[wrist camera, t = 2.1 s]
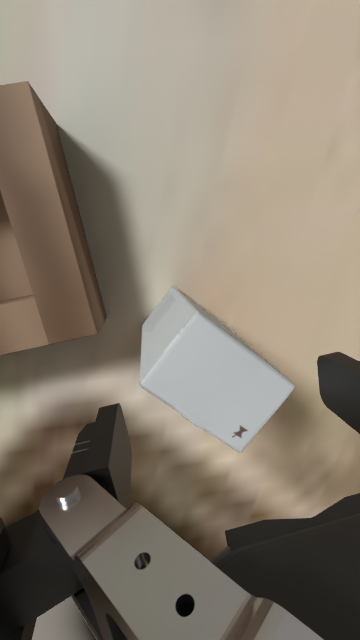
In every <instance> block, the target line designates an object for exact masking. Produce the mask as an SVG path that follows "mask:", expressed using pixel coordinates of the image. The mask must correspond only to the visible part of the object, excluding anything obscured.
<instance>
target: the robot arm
mask: <svg viewBox="0 0 360 640" xmlns="http://www.w3.org/2000/svg"><path fill="white" fill-rule="evenodd" d="M317 365H318V377H319V388H320V395H321V398H322V400H323V402H324V404H325V405H326V407H327V408H329V409H330V410H331V411H332V412H334V413H335V414H336V415H337V416H338V417H340V418H341V419H342V420H343V421H345V422H346V423H347V424H348V425H349V426H351V427H352V428H353V429H354V430H356V431H357V432H358V433H359V434H360V361H357V360H355V359H353V358H351V357H349V356H347V355H345V354H343V353H341V352H335V353H330V354H326V355H322V356H319V357H318V360H317ZM72 452H73V453H72V454H71V457H70V460H69V463H68V466H67V469H66V472H65V474H64V477H63V480H61V481H59V482H58V483H56V484H55V485H54V486H52V487H51V488H50V489H49V490H48V491H47V492H46V493H45V495H44V496H43V498H42V499H41V502H40V504H39V510H38V511H36V512H35V513H33V514H31V515H29V516H27V517H25V518H23V519H21V520H19V521H17V522H15V523H13V524H11V525H9V526H7V527H5V525H4V522H3V520H2V518H0V640H32V636H33V631H34V627H35V623H36V619H37V617H38V616H40V615H42V614H43V613H45V612H46V611H48V610H49V609H51V608H53V607H54V606H55V605H57V604H59V603H60V602H62V601H64V600H65V599H67V598H68V597H70V596H71V597H72V599H73V601H74V602H75V604H76V606H77V607H78V609H79V611H80V612H81V614H82V616H83V617H84V619H85V621H86V622H87V624H88V626H89V627H90V629H91V631H92V632H93V634H94V636H95V637H96V639H97V640H360V493H359V494H355V495H351V496H348V497H345V498H343V499H342V500H340V501H338V502H337V503H335V504H334V505H332V506H330V507H329V508H327V509H326V510H324V511H323V512H321V513H319V514H318V515H316V516H314V517H312V518H303V519H274V520H262V521H259V522H255V523H252V524H248V525H245V526H241V527H238V528H234V529H230V530H227V531H225V534H226V539H227V544H228V547H227V548H225V549H224V550H222V551H221V552H219V553H218V554H217V555H216V556H215V557H213V558H212V559H211V560H210V561H208V560H207V559H206V558H205V557H204V556H202V555H201V554H200V553H199V552H197V551H196V550H195V549H194V548H193V547H191V546H190V545H189V544H188V543H186V542H185V541H184V540H183V539H182V538H180V537H179V536H178V535H177V534H175V533H174V532H173V531H172V530H171V529H169V528H168V527H167V526H166V525H164V524H163V523H162V522H161V521H160V520H158V519H157V518H156V517H155V516H154V515H152V514H151V513H150V512H149V511H147V510H146V509H145V508H144V507H142V506H141V505H140V504H137V503H134V504H133V505H132V506H131V507H130V484H131V462H132V451H131V444H130V439H129V435H128V431H127V427H126V424H125V420H124V416H123V412H122V409H121V406H120V404H119V403H117V404H113V405H109V406H105V407H100V408H99V411H98V414H97V418H96V422H94V423H90V424H87V425H86V426H85V427H84V428H83V429H82V431H81V432H80V433H79V434H78V437H77V440H76V443H75V446H74V449H73V451H72Z"/></svg>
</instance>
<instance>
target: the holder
mask: <svg viewBox="0 0 360 640" xmlns="http://www.w3.org/2000/svg"><path fill="white" fill-rule="evenodd" d="M105 320H106V314H105V310H104V306H103V302H102V298H101V295H100V291H99V287H98V283H97V279H96V275H95V272H94V268H93V264H92V260H91V256H90V252H89V249H88V245H87V241H86V237H85V233H84V229H83V226H82V222H81V218H80V214H79V210H78V206H77V203H76V199H75V195H74V191H73V187H72V184H71V180H70V176H69V172H68V168H67V164H66V161H65V157H64V153H63V149H62V145H61V141H60V138H59V134H58V130H57V126H56V122H55V121H54V119H53V118H52V116H51V115H50V114H49V112H48V111H47V109H46V108H45V106H44V105H43V103H42V102H41V100H40V99H39V97H38V96H37V94H36V93H35V91H34V90H33V88H32V87H31V85H30V84H29V82H28V81H26V82H19V83H13V84H6V85H0V355H3V354H8V353H12V352H17V351H21V350H26V349H31V348H35V347H40V346H44V345H49V344H54V343H58V342H63V341H67V340H72V339H76V338H81V337H86V336H90V335H95V334H97V333H98V331H99V330H100V328H101V326H102V325H103V323H104V321H105Z"/></svg>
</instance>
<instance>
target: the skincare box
mask: <svg viewBox="0 0 360 640" xmlns="http://www.w3.org/2000/svg"><path fill="white" fill-rule="evenodd" d="M139 384H140V386H141V387H142V388H143V389H145V390H146V391H148V392H149V393H151V394H152V395H154V396H155V397H157V398H158V399H160V400H161V401H163V402H164V403H166V404H167V405H169V406H170V407H172V408H173V409H175V410H176V411H177V412H179V413H180V414H181V415H182V416H183V417H185V418H186V419H187V420H189V421H190V422H191V423H193V424H194V425H196V426H198V427H200V428H202V429H204V430H205V431H207V432H208V433H210V434H211V435H213V436H214V437H216V438H218V439H219V440H221V441H222V442H224V443H225V444H227V445H228V446H230V447H231V448H233V449H234V450H236V451H237V452H242V451H243V450H244V449H245V447H246V446H247V445H248V444H249V442H250V441H251V440H252V439H253V438H254V436H255V435H256V434H257V433H258V432H259V430H260V429H261V428H262V427H263V426H264V425H265V423H266V422H267V421H268V420H269V419H270V418H271V417H272V415H273V414H274V413H275V412H276V411H277V409H278V408H279V407H280V406H281V405H282V404H283V402H284V401H285V400H286V399H287V397H288V396H289V395H290V394H291V392H292V391H293V390H294V388H295V386H294V384H293V383H291V382H290V381H289V380H288V379H287V378H286V377H284V376H283V375H282V374H281V373H280V372H279V371H278V370H276V369H275V368H274V367H273V366H272V365H271V364H269V363H268V362H267V361H266V360H265V359H264V358H262V357H261V356H260V355H259V354H258V353H257V352H255V351H254V350H253V349H252V348H251V347H250V346H248V345H247V344H246V343H245V342H244V341H243V340H241V339H240V338H239V337H238V336H237V335H236V334H234V333H233V332H232V331H231V330H230V329H228V328H227V327H226V326H225V325H224V324H222V323H221V322H220V321H219V320H217V319H216V318H215V317H213V316H212V315H211V314H210V313H208V312H207V311H206V310H204V309H203V308H202V307H201V306H199V305H198V304H197V303H195V302H194V301H193V300H191V299H190V298H189V297H187V296H186V295H185V294H183V293H182V292H181V291H179V290H178V289H177V288H176V287H174V286H173V287H172V288H171V289H170V290H169V291H168V293H167V294H166V295H165V297H164V298H163V299H162V300H161V301H160V303H159V304H158V305H157V306H156V308H155V309H154V310H153V312H152V313H151V314H150V315H149V317H148V318H147V319H146V320H145V322H144V323H143V325H142V343H141V363H140V375H139Z"/></svg>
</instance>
